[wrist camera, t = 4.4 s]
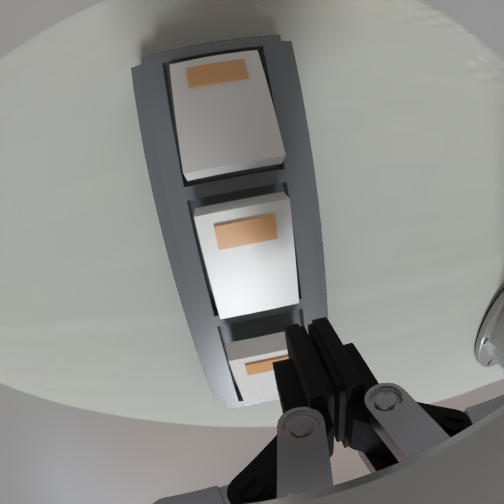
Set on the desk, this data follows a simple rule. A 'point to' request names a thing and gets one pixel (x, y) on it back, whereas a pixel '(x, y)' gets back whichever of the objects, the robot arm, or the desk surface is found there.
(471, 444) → the robot arm
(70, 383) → the desk surface
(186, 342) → the desk surface
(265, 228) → the rocker middle
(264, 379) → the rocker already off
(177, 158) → the rocker switch panel
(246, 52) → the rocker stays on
